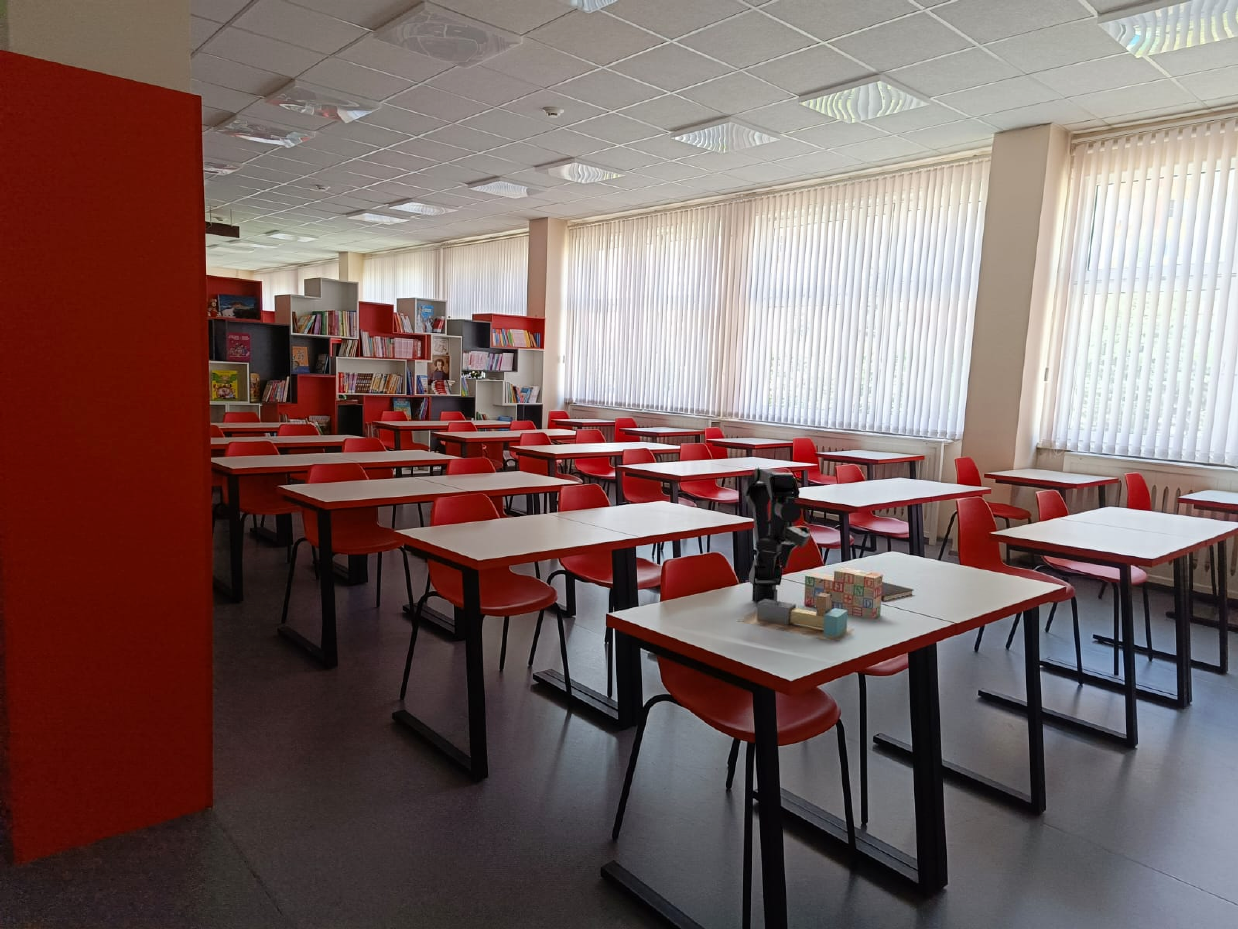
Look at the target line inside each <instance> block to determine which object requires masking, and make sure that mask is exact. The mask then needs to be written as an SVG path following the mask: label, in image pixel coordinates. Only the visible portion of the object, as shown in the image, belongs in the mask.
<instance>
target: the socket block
mask: <svg viewBox="0 0 1238 929" xmlns="http://www.w3.org/2000/svg"><path fill="white" fill-rule="evenodd" d="M847 613H848V610H842V609H837V608H834V609H832V610H831V611H829V612H828V613H826V614H825V615H824V632H823V635H825V636H830V637H835V638H837V637H838V636H840V635H841V634H843V633H844V632H845V631H847V628H848V614H847Z"/></svg>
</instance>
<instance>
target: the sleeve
mask: <svg viewBox="0 0 1238 929" xmlns="http://www.w3.org/2000/svg"><path fill="white" fill-rule="evenodd" d="M796 606H797V604H796V603H791V602H785V601H780V600H777V601H775V600H769V599H764V600H762V601H760V602H757V609H756V611H757V620H758V621H763V622H768V623H773V624H778V625H783V626H790V625H791V624H793V623H790V622H789V614H790V609H792V608H796V609H797V607H796Z"/></svg>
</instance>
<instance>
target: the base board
mask: <svg viewBox="0 0 1238 929" xmlns="http://www.w3.org/2000/svg"><path fill="white" fill-rule="evenodd" d="M737 622H740V623H744V624H749V625H750V624H751V625H755V626H760V627H764V628H768V629H769V628H770V629H775V630H778V631H779V630H780V631H785V632H790V633H794V634H800V635H803V636H809V637H815V638H819V639H824V640H831V641H835V642H840V641H841V640H842V639H844V638H845V637H846V636H848V635H849V634H850V633H852V632H853V631H854V630H855V628H851V627H847V631H845V632H844V633H843V634H841V635H840V636H838V637H837V638H835V637H830V636H825V635H823V632H824V629H821V628H816V627H811V626H806V625H800V624H795V623H793V624H791V625H790V626H783V625H778V624H773V623H768V622H763V621H758V620H757V610H756V611H754V612H752V613H750V614H748V615H746V616H744V617H743V618H740V619H738V620H737Z"/></svg>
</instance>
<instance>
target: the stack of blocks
mask: <svg viewBox="0 0 1238 929" xmlns="http://www.w3.org/2000/svg"><path fill="white" fill-rule="evenodd" d="M883 576H884V575H883V574H881V573H875V572H872V571H867V570H859V569H853V568H847V567H840V568H838V569H835V570H833V575H830V574H825V573H820V572H815V571H814V572H812V573H809V574H807V575H805V577H804V602H803V604H805V605H804V606H807V605H809V607H812V606H816V607H817V595H819V594H821V593H824V594H830V610H832V609H834V608H837V609H842V610H848V614H847V615H850V614H851V616H856V617H863V618H868V619H873V620H874V619H876V618H878V617H880V616H881V612H882V611H881V606H882V601H881V595H882V582H883ZM816 607H815V608H816ZM879 615H880V616H879ZM877 616H878V617H877ZM875 617H876V618H875Z"/></svg>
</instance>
